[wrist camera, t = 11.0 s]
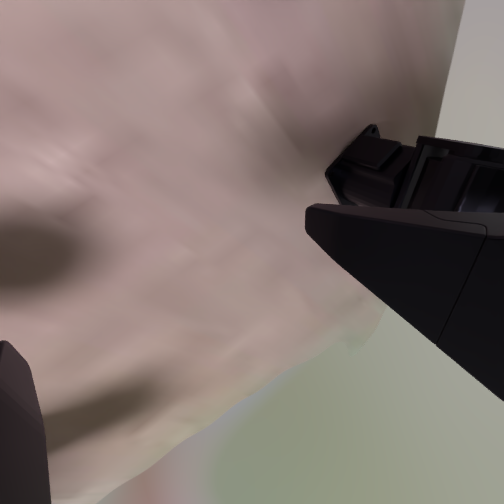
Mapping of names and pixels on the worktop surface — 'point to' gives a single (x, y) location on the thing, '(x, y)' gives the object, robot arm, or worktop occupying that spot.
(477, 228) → the robot arm
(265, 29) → the worktop surface
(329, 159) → the worktop surface
